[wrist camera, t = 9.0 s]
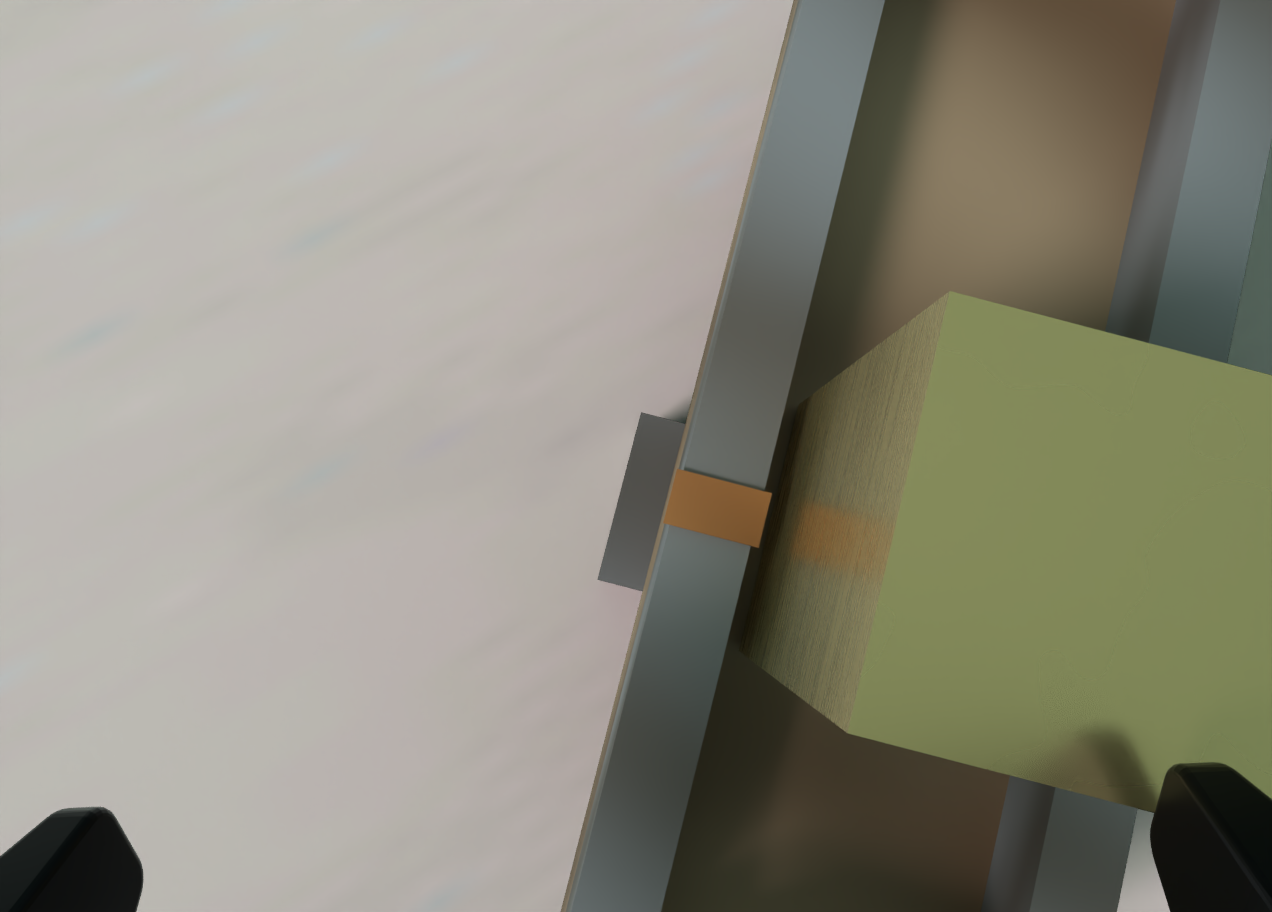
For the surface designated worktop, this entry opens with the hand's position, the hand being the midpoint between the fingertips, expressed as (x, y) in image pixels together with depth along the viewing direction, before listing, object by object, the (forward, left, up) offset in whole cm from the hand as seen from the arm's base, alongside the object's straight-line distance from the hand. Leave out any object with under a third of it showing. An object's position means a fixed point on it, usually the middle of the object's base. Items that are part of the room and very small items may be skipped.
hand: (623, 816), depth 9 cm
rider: (+1, -5, -7) cm, 8 cm away
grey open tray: (+3, -6, -12) cm, 13 cm away
